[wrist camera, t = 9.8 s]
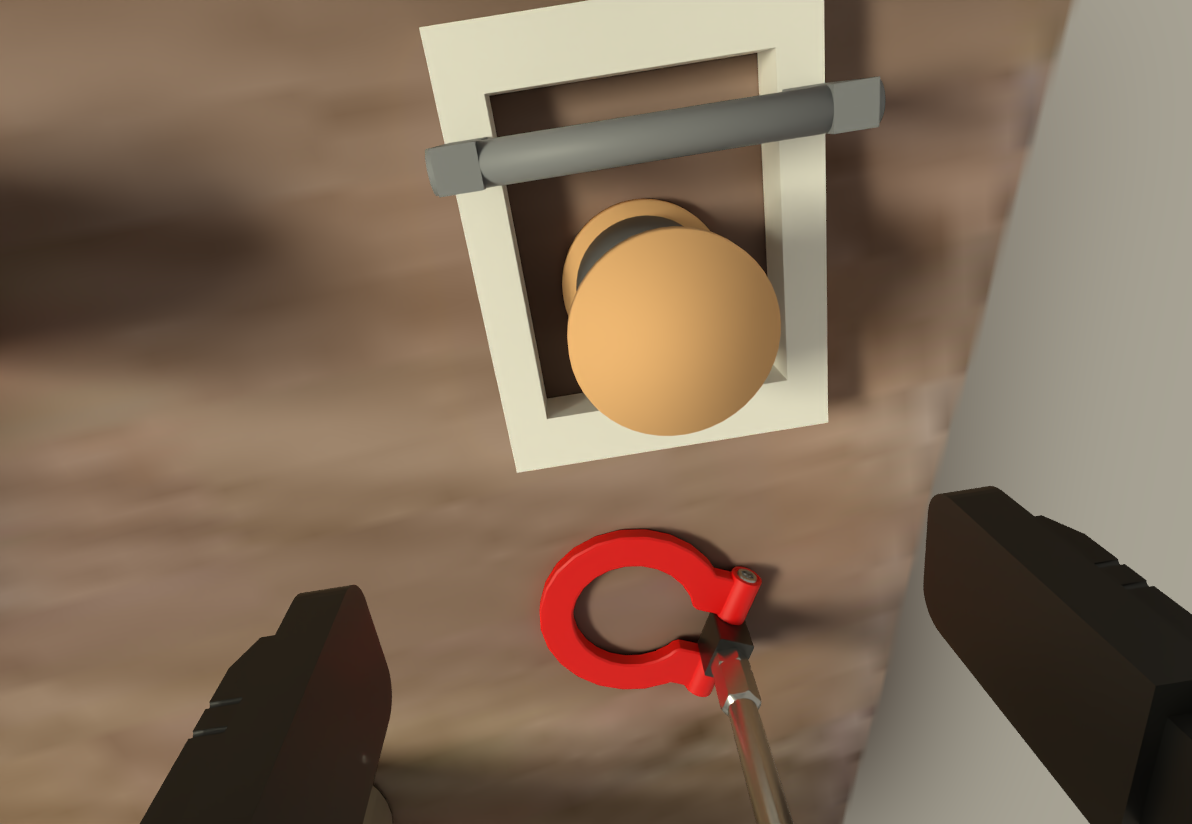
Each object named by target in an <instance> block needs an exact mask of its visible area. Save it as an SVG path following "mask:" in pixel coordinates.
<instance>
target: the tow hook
mask: <svg viewBox="0 0 1192 824" xmlns="http://www.w3.org/2000/svg"><path fill="white" fill-rule="evenodd" d="M628 566H644V567H649V568H654V569H658V570H660V571H663V572H665V573H667V574H669V575H671V576H673V577H674V578H675V579H676V580H677V581H679V582H680V583H681V584H682V585H683V586H684V588H685V589H686V591H687V592H688V594H689V595H690V597H691V601H692V604H693V606H694V607H695V608H696V609H698V610H702V611H706V612H710V614H709V617H708V619H707V621H706V624H705V626H704V628H703V630H702V633H701V635H700V637H699V640H698V643H693V642H689V641H684V640H680V639H678V640H674V641H672V642H671V643H669V644H668V645H666V646H664V647H662V648H660V649H658V650H656V651H654V652H649V653H645V654H641V655H621V654H615V653H610V652H608V651H605V650H603V649H601V648H598V647H596V646H595V645H594V644H592V643H591V642H590V641H588V640H587V639H586V638H585V637H584V635H583V634H582V633H581V632H580V630H579V629H578V627H577V624H576V622H575V619H574V614H573V610H574V607H575V603H576V600H577V598H578V597H579V595H580V594H581V592H582V591H583V589H584V588H585V587H586V586H587V585H588V584H589V583H590V582H591V581H593V580H594V579H595V578H596V577H598V576H600V575H602V574H604V573H606V572H608V571H610V570H614V569H618V568H622V567H628ZM761 583H762V580H761V578H760V577H759V575H758V574H756V573H755V572H754V571H752V570H750V569H748V568H745V567H741V566H737V567H734V568H733V569H732V571H731V572H730V571H726V570H722V569H718V568H714V567H713V566H712V564H711V563H710V561H709V560H708V558H706V557H705V556H704V555H703V554H702V553H701V552H699V551H698V550H697V549H696V548H695V547H694V546H692V545H691V544H689V543H687V542H685V541H683V540H681V539H679V538H677V537H675V536H672V535H670V534H666V533H662V532H657V531H652V530H647V529H635V530H618V531H614V532H610V533H606V534H602V535H599V536H595V537H593V538H591V539H589V540H588V541H586V542H584V543H582V544H580V545H578V546H576V547H574V548H573V549H572V550H571V551H570V552H569V553H568V554H567V555H565V556H564V557H563V558H562V559H561V560H560V561H559V562H558V563H557V564H556V566H555V567H554V569H553V571H552V572H551V574H550V575H549V577H548V579H547V580H546V582H545V586H544V589H543V593H542V597H541V601H540V623H541V631H542V634H543V636H544V639H545V641H546V644H547V646H548V648H549V650H550V651H551V652H552V653H553V655H554V656H555V657H556V658H557V660H558V661H559V662H560V663H561V664H562V665H563V666H564V667H566V668H567V669H568V670H570V671H571V672H573V673H574V674H575V675H577V676H578V677H580V678H583V679H585V680H588V681H590V682H592V683H595V684H597V685H600V686H606V687H612V688H618V689H643V688H649V687H653V686H657V685H662V684H666V683H669V682H674V683H678V684H683V685H685V686H686V688H687V689H688V690H689V691H690V692H691V693H693V694H694V695H697V696H700V697H707V696H709V695H710V694H711V691H712V689H713V687H714V685H715V687H716V691H717V695H718V699H719V703H720V707H721V709H722V711H723V712H724V713H725V714H726V715H727V716H728V717H729V718H730V722H731V726H732V730H733V734H734V737H735V741H736V745H737V749H738V753H739V757H740V761H741V765H742V769H743V773H744V776H745V780H746V784H747V788H748V792H749V796H750V800H751V804H752V808H753V812H754V815H755V819H756V823H757V824H793V821H792V818H791V814H790V811H789V808H788V805H787V801H786V798H785V795H784V792H783V789H782V785H781V782H780V779H779V776H778V772H777V769H776V766H775V763H774V760H773V756H772V753H771V750H770V747H769V743H768V740H767V737H766V734H765V730H764V727H763V724H762V721H761V718H760V714H759V711H758V710H759V708H760V706H761V697H760V694H759V691H758V688H757V685H756V682H755V679H754V676H753V672H752V670H751V666H750V663H749V660H748V659H749V657H750V655H751V653H752V651H753V649H754V646H753V643H752V640H751V637H750V634H749V631H748V628H747V625H746V622H745V618H746V616H747V614H748V612H749V609H750V607H751V605H752V603H753V601H754V599H755V596H756V594H757V592H758V590H759V588H760V586H761Z"/></svg>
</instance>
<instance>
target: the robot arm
mask: <svg viewBox="0 0 1192 824" xmlns="http://www.w3.org/2000/svg"><path fill="white" fill-rule="evenodd" d="M924 596H925V601H926V605H927V608H928V612H929V614H930V617H931V618H932V621H933V623H934V625H935V626H936V628H937V630H938V631H939V632H940V634H941V635H942V636H943V638H944V639H945V640H946V641H947V643H948V644H949V645H950V646H951V648H952V649H953V650H954V652H955V653H956V654H957V655H958V657H959V658H960V659H961V660H962V662H963V663H964V664H965V665H966V667H967V668H968V669H969V671H970V672H971V673H972V674H973V676H974V677H975V678H976V679H977V681H978V682H979V683H980V684H981V686H982V687H983V688H984V690H985V691H986V692H987V693H988V695H989V696H990V697H991V698H992V700H993V701H994V702H995V704H996V705H997V706H998V707H999V709H1000V710H1001V711H1002V712H1003V714H1004V715H1005V716H1006V717H1007V719H1008V720H1009V721H1010V722H1011V724H1012V725H1013V726H1014V728H1015V729H1016V730H1017V731H1018V733H1019V734H1020V735H1021V737H1022V738H1023V739H1024V740H1025V742H1026V743H1027V744H1028V745H1029V747H1030V748H1031V749H1032V750H1033V752H1034V753H1035V754H1036V756H1037V757H1038V758H1039V759H1040V761H1041V762H1042V763H1043V765H1044V766H1045V767H1046V768H1047V770H1048V771H1049V772H1050V773H1051V775H1052V776H1053V777H1054V778H1055V780H1056V781H1057V782H1058V783H1059V785H1060V786H1061V787H1062V789H1063V790H1064V791H1065V792H1066V794H1067V795H1068V796H1069V798H1070V799H1071V800H1072V801H1073V803H1074V804H1075V805H1076V806H1077V808H1078V809H1079V810H1080V811H1081V813H1082V814H1083V815H1084V817H1085V818H1086V819H1087V820H1088V822H1089V823H1090V824H1192V614H1190V613H1189V612H1188V611H1186V610H1185V609H1184V608H1182V607H1181V606H1180V605H1178V604H1177V603H1176V602H1174V601H1173V600H1172V599H1170V598H1169V597H1168V596H1167V595H1165V594H1164V593H1163V592H1161V591H1160V590H1159V589H1157V588H1156V587H1155V586H1151V587H1149V586H1148V585H1147V583H1146V580H1145V579H1144V578H1142V577H1141V576H1140V575H1138V574H1137V573H1136V572H1135V571H1133V570H1132V569H1131V568H1129V567H1128V566H1127V565H1125V564H1123V565H1120V564H1119V562H1118V559H1117V558H1116V557H1115V556H1113V555H1112V554H1110V553H1109V552H1108V551H1106V550H1105V549H1104V548H1103V547H1101V546H1100V545H1098V544H1097V543H1096V542H1095V541H1093V540H1092V539H1091V538H1089V537H1088V536H1087V535H1085V534H1083V533H1081V532H1079V531H1076V530H1074V529H1072V528H1070V527H1067V526H1065V525H1063V524H1060V523H1058V522H1056V521H1053V520H1051V519H1049V518H1046V517H1044V516H1042V515H1041V516H1033V515H1032V514H1030V513H1029V512H1028V511H1027V510H1025V509H1024V508H1023V507H1022V506H1021V505H1019V504H1018V503H1017V502H1016V501H1014V500H1013V499H1012V498H1010V497H1009V496H1008V495H1007V494H1005V493H1004V492H1003V491H1002V490H1000V489H998V488H996V487H994V486H988V487H981V488H975V489H969V490H962V491H956V492H949V493H943V494H937V495H935V496H934V497H933V498H932V499H931V501H930V504H929V509H928V522H927V538H926V553H925V568H924ZM209 703H210V708H209V709H205V711H204V713H203V714H202V716H201V718H200V720H199V721H198V723H197V725H196V727H195V728H194V730H193V738H191V739H188V741H187V742H186V744H185V746H184V748H183V749H182V751H181V753H180V755H179V756H178V758H177V760H176V761H175V763H174V765H173V767H172V768H171V770H170V772H169V774H168V775H167V777H166V779H165V781H164V782H163V784H162V786H161V788H160V789H159V791H158V793H157V795H156V796H155V798H154V800H153V802H152V803H151V805H150V807H149V809H148V810H147V812H146V814H145V816H144V817H143V819H142V821H141V822H140V824H392V814H391V811H390V809H389V806H388V803H387V802H386V800H385V799H384V797H383V796H382V795H381V793H380V792H379V791H378V790H377V789H376V788H375V787H374V786H373V782H374V778H375V774H376V770H377V766H378V762H379V758H380V754H381V750H382V746H383V742H384V739H385V735H386V731H387V727H388V723H389V719H390V714H391V704H392V689H391V680H390V674H389V670H388V666H387V663H386V660H385V657H384V654H383V651H382V648H381V645H380V642H379V639H378V636H377V633H376V630H375V627H374V624H373V621H372V618H371V615H370V612H369V609H368V606H367V603H366V600H365V597H364V595H363V593H362V591H361V589H360V588H359V587H358V586H356V585H349V586H343V587H337V588H330V589H324V590H318V591H311V592H305V593H300V594H298V595H297V596H296V597H295V598H294V600H293V602H292V604H291V605H290V607H289V609H288V611H287V613H286V615H285V617H284V619H283V621H282V623H281V625H280V627H279V628H278V630H277V632H276V634H275V635H273V636H267V637H261V638H260V639H259V640H258V641H257V642H256V643H255V644H254V645H253V646H251V647H250V648H249V649H248V650H247V651H246V652H245V653H244V654H243V655H242V656H241V657H240V658H239V659H238V660H237V661H236V662H235V663H234V664H233V665H232V666H231V667H230V668H229V669H228V671H227V673H226V674H225V676H224V678H223V680H222V681H221V683H220V685H219V687H218V688H217V690H216V692H215V694H214V695H213V697H212V699H211V700H210V702H209Z"/></svg>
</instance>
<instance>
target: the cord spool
mask: <svg viewBox="0 0 1192 824" xmlns="http://www.w3.org/2000/svg"><path fill="white" fill-rule="evenodd" d="M562 289H563V299H564V303H565V307H566V311H567V313H568V316H569V319H568V329H567V339H568V349H569V358H570V362H571V366H572V370H573V372H574V375H575V377H576V380H577V382H578V384H579V386H580V387H581V389H582V391H583V393H584V394H585V395H586V397H587V398H588V399H589V400H590V402H591V403H592V404H593V405H594V406H595V407H596V408H597V409H598V410H599V411H600V412H601V413H603V414H604V415H605V416H607V417H608V418H609V419H611V420H612V421H614V422H616V423H618V424H619V425H621V426H623V427H626V428H628V429H631V430H633V431H637V432H640V433H644V434H650V435H657V436H676V435H686V434H690V433H694V432H699V431H701V430H704V429H707V428H710V427H712V426H714V425H716V424H718V423H721V422H723V421H724V420H726V419H727V418H729V417H731V416H732V415H734V414H735V413H736V412H737V411H739V410H740V409H741V408H742V407H744V406H745V405H746V404H747V403H748V402H749V401H750V400H751V399H752V398H753V397H754V395H755V394H756V393H757V392H758V390H759V389H760V388H761V386H762V385H763V383H764V382H765V380H766V378H767V377H768V375H769V373H770V371H771V368H772V366H773V364H774V362H775V358H776V355H777V352H778V348H779V342H780V335H781V318H780V309H779V305H778V301H777V297H776V294H775V291H774V289H773V287H772V284H771V282H770V280H769V279H768V277H767V275H766V274H765V272H764V271H763V269H762V268H761V267H760V266H759V264H758V263H757V262H756V261H755V260H754V259H753V258H752V257H751V256H750V255H749V254H748V253H747V252H746V251H744V250H743V249H741V248H740V247H738V246H737V245H736V244H734V243H733V242H731V241H730V240H728V239H726V238H724V237H722V236H720V235H718V234H716V233H713V232H710V230H709V229H708V228H707V227H706V226H705V224H703V223H702V222H701V221H700V220H699V219H698V218H697V217H696V216H694V215H693V214H691V213H690V212H688V211H687V210H685V209H684V208H682V207H680V206H678V205H676V204H673V203H670V202H667V201H663V200H657V199H633V200H628V201H624V202H620V203H618V204H615V205H613V206H610V207H609V208H607V209H605V210H603V211H601V212H600V213H598V214H597V215H596V216H594V217H593V218H592V219H591V220H590V221H589V222H588V223H586V224H585V225H584V227H583V228H582V229H581V230H580V232H579V233H578V234H577V236H576V237H575V239H574V240H573V242H572V244H571V246H570V248H569V250H568V253H567V256H566V259H565V262H564V267H563V273H562Z"/></svg>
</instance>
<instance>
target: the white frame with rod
mask: <svg viewBox="0 0 1192 824" xmlns="http://www.w3.org/2000/svg"><path fill="white" fill-rule="evenodd" d="M419 29H420V34H421V38H422V43H423V47H424V52H425V56H426V61H427V65H428V70H429V74H430V79H431V84H432V88H433V93H434V97H435V102H436V106H437V111H438V115H439V120H440V124H441V129H442V134H443V138H444V143H445V144H444V145H440V146H437V147H433V148H428V149H426V150H425V160H426V167H427V172H428V176H429V180H430V183H431V186H432V189H433V192H434V194H435V195H436V196H439V197H445V196H451V195H456V197H457V202H458V206H459V211H460V215H461V220H462V224H463V229H464V234H465V238H466V243H467V247H468V252H469V256H470V261H471V265H472V270H473V274H474V279H475V284H476V288H477V293H478V297H479V302H480V306H481V311H482V315H483V320H484V324H485V329H486V334H487V338H488V343H489V347H490V352H491V356H492V361H493V365H494V370H495V374H496V379H497V384H498V388H499V393H500V397H501V402H502V406H503V411H504V415H505V420H506V424H507V429H508V434H509V438H510V443H511V447H512V452H513V456H514V461H515V465H516V470H517V473H518V472H524V471H531V470H537V469H543V468H549V467H555V466H562V465H568V464H574V463H580V462H586V461H593V460H599V459H605V458H611V457H617V456H624V455H630V454H636V453H642V452H648V451H655V450H661V449H667V448H673V447H679V446H685V445H692V444H698V443H704V442H710V441H716V440H723V439H729V438H735V437H741V436H747V435H754V434H760V433H766V432H772V431H778V430H785V429H791V428H797V427H803V426H809V425H816V424H822V423H828V365H827V260H826V155H825V134H838V133H844V132H850V131H856V130H863V129H869V128H875V127H879V123H880V121H881V120H882V117H883V114H884V110H885V90H884V86H883V83H882V81H881V80H880V77H871V78H863V79H855V80H846V81H837V82H829V83H825V50H824V0H588V1H582V2H576V3H570V4H563V5H557V6H551V7H545V8H538V9H532V10H526V11H520V12H513V13H507V14H501V15H495V16H488V17H482V18H476V19H469V20H463V21H457V22H451V23H444V24H438V25H432V26H426V27H419ZM753 53H757V56H758V78H759V96H753V97H747V98H740V99H734V100H728V101H722V102H715V103H709V104H703V105H697V106H690V107H684V108H678V109H672V110H665V111H659V112H653V113H647V114H640V115H634V116H628V117H622V118H616V119H609V120H603V121H597V122H591V123H584V124H578V125H572V126H566V127H559V128H553V129H547V130H541V131H534V132H528V133H522V134H516V135H509V136H503V137H497V134H496V129H495V124H494V118H493V113H492V108H491V103H490V97H489V96H490V95H497V94H503V93H509V92H515V91H522V90H528V89H534V88H540V87H547V86H553V85H559V84H565V83H572V82H578V81H584V80H590V79H597V78H603V77H609V76H615V75H622V74H628V73H634V72H640V71H647V70H653V69H659V68H665V67H672V66H678V65H684V64H690V63H697V62H703V61H709V60H715V59H722V58H728V57H734V56H740V55H747V54H753ZM757 144H761V145H762V168H763V190H764V212H765V234H766V257H767V277H768V279H769V280H770V282H771V284H772V287H773V289H774V291H775V294H776V297H777V301H778V305H779V309H780V318H781V335H780V342H779V348H778V352H777V355H776V358H775V362H774V364H773V366H772V368H771V371H770V373H769V375H768V377H767V378H766V380H765V382H764V383H763V385H762V386H761V388H760V389H759V390H758V392H757V393H756V394H755V395H754V397H753V398H752V399H751V400H750V401H749V402H748V403H747V404H746V405H745V406H744V407H742V408H741V409H740V410H739V411H737V412H736V413H735V414H734V415H732V416H731V417H729V418H727V419H726V420H724V421H723V422H721V423H718V424H716V425H714V426H712V427H710V428H707V429H704V430H701V431H699V432H694V433H690V434H686V435H676V436H657V435H650V434H644V433H640V432H637V431H633V430H631V429H628V428H626V427H623V426H621V425H619V424H618V423H616V422H614V421H612V420H611V419H609V418H608V417H607V416H605V415H604V414H603V413H601V412H600V411H599V410H598V409H597V408H596V407H595V406H594V405H593V404H592V403H591V402H590V400H589V399H588V398H587V397H586V395H585V394H584V393H579V394H572V395H566V396H560V397H554V398H547V397H546V391H545V386H544V381H543V376H542V370H541V365H540V360H539V355H538V349H537V344H536V339H535V334H534V328H533V323H532V318H531V313H530V307H529V302H528V297H527V292H526V286H525V281H524V276H523V271H522V265H521V260H520V255H519V250H518V244H517V239H516V234H515V229H514V223H513V218H512V213H511V208H510V202H509V197H508V192H507V187H506V185H508V184H514V183H520V182H527V181H533V180H539V179H545V178H551V177H558V176H564V175H570V174H576V173H583V172H589V171H595V170H601V169H608V168H614V167H620V166H626V165H633V164H639V163H645V162H651V161H657V160H664V159H670V158H676V157H682V156H689V155H695V154H701V153H707V152H714V151H720V150H726V149H732V148H739V147H745V146H751V145H757Z"/></svg>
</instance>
